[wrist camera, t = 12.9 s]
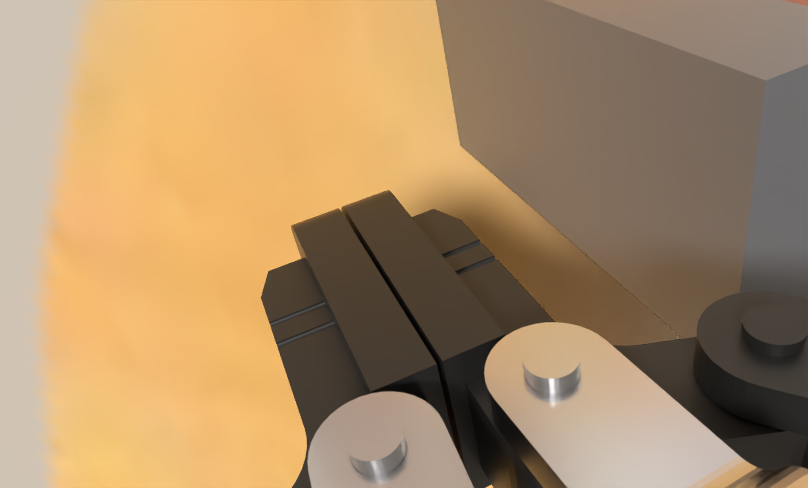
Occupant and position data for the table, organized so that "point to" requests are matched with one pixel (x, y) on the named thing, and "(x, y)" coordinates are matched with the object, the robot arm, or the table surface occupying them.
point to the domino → (647, 135)
